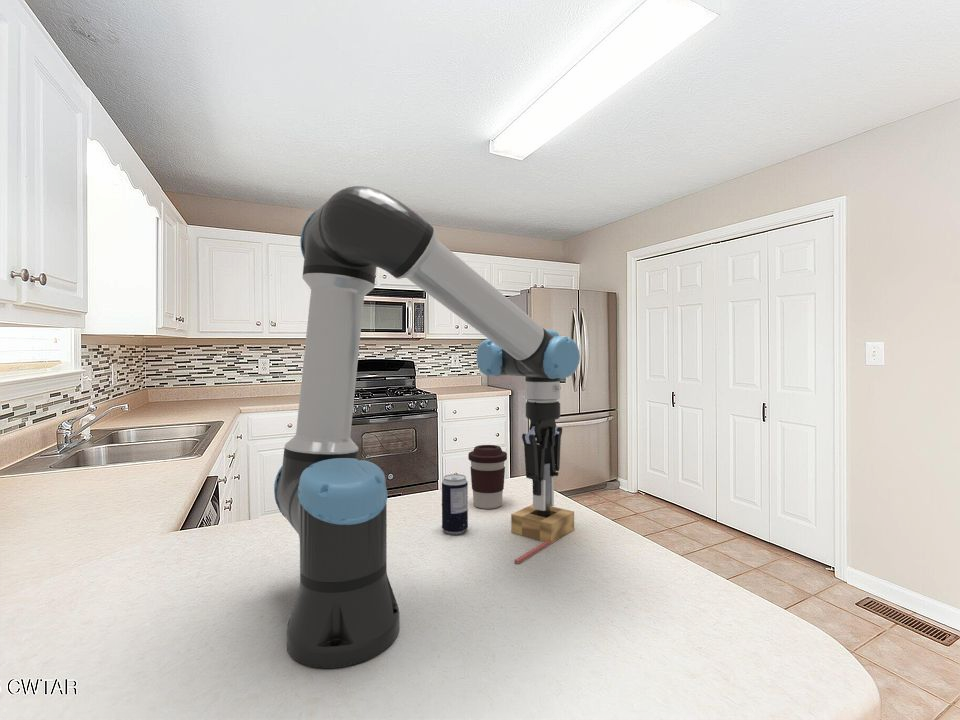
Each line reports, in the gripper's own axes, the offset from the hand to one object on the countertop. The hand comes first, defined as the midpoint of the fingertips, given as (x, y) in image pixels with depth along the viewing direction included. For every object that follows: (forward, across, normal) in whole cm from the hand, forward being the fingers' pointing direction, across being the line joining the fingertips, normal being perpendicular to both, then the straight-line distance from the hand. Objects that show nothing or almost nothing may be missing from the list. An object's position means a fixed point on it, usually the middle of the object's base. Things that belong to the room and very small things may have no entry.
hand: (543, 506), depth 104 cm
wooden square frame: (+5, 0, 0) cm, 5 cm away
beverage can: (+5, -12, +15) cm, 20 cm away
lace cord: (+5, -11, -4) cm, 13 cm away
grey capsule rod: (+5, 0, 0) cm, 5 cm away
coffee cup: (+6, +6, +21) cm, 22 cm away
